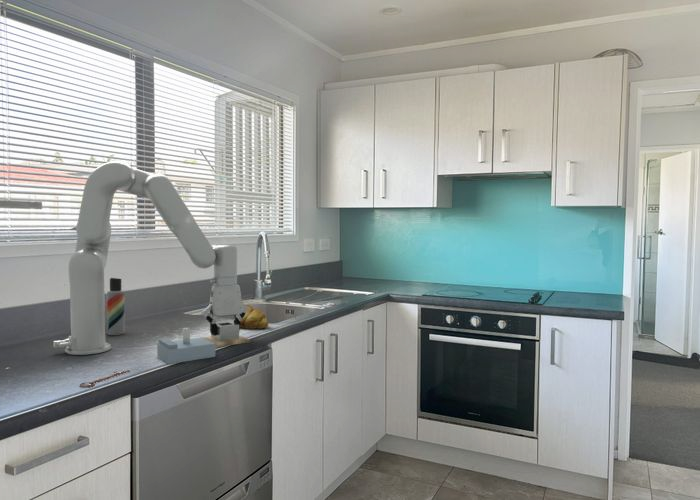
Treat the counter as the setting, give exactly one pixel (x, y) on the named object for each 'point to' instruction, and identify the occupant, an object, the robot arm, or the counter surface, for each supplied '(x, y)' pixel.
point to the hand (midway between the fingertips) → (225, 333)
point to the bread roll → (253, 319)
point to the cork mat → (225, 343)
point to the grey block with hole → (226, 331)
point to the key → (102, 379)
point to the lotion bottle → (115, 308)
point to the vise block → (185, 349)
